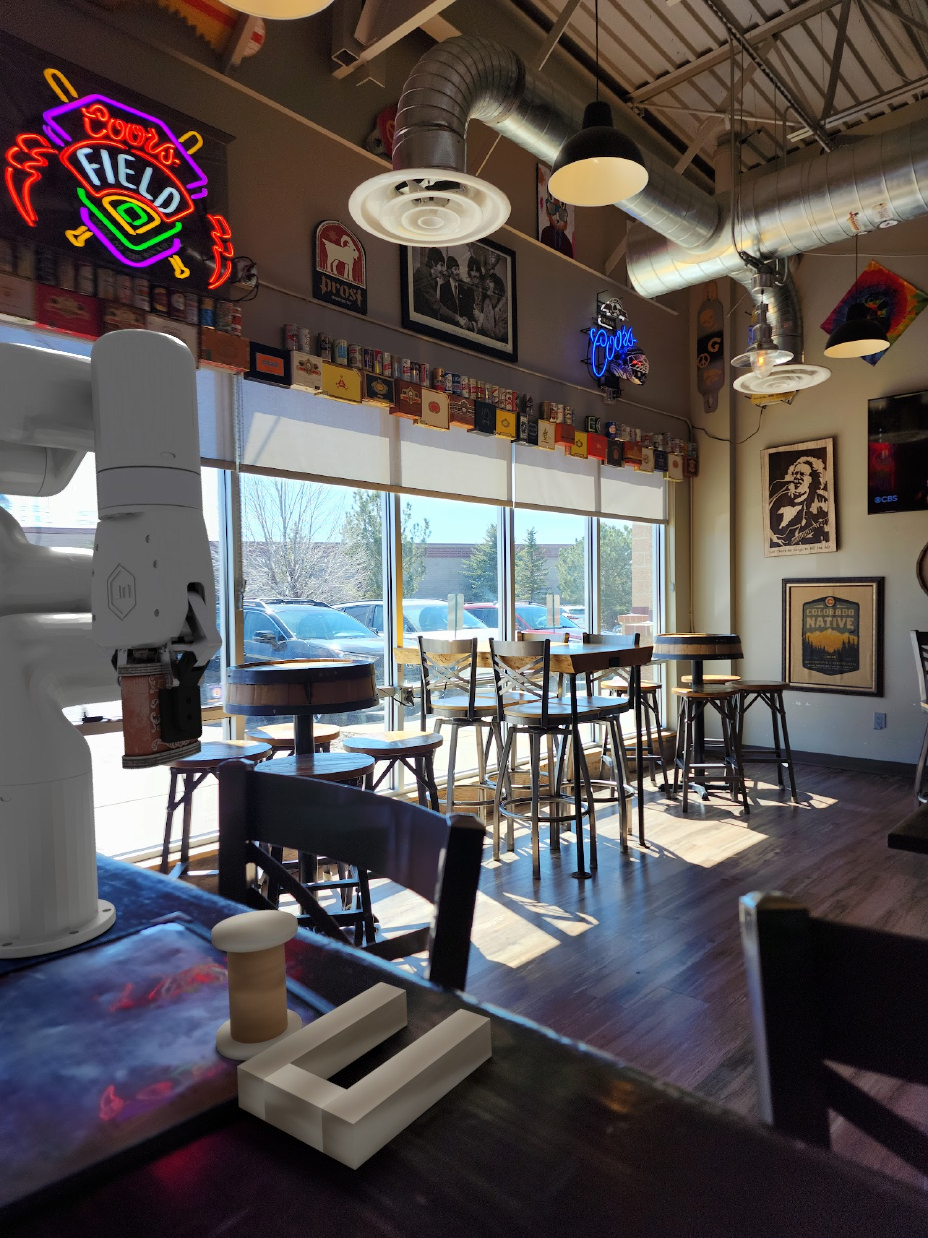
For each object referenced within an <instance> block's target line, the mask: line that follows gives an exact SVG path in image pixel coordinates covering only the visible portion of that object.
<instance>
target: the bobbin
mask: <svg viewBox="0 0 928 1238" xmlns="http://www.w3.org/2000/svg"><path fill="white" fill-rule="evenodd" d="M297 918H298V917H296V915H294V914H292V913H291V912H288V911H284V910H283V911H282V910H278V909H277V910H276V909H272V910H271V909H265V910H255V911H254V910H253V911H248V912H244V913H238V914H236V915H233V916H230V917H227V918H226V919H223V920H220V922H218V923H217V924H215V925H214V926H213V928H212V929H211V932H210V933H211V944H212V945H213V947H214V948H216V949H217V950H220V951H223V952H224V951H225V952H226V960H227V961H226V962H227V963H226V964H227V981H228V982H227V984H228V1004H229V1006H228V1009H229V1019H227V1020H226V1021H224V1023H223V1024H221V1025H220V1026H219V1028H218V1029H217V1031H216V1034H215V1045H216V1046H215V1047H216V1050H217V1052H218V1053H219V1054H220V1055H222V1057H225V1058H228V1059H230V1060H236V1061H247V1060H249V1059H251V1058H252V1057H254V1056H256V1055H257V1054H259V1053H261V1052H263V1051H264V1050H266V1049H268V1048H269V1047H271V1046H273V1045H274V1044H276V1043H278V1042H280V1041H281V1040H283V1039H285V1038H286V1037H288V1036H290V1035H291V1034H293V1033H295V1032H297V1031H298V1030H300V1029H302V1028H303V1020H302V1017H301V1016H300V1015H299V1014H298V1013H297V1012H296V1011H293V1010H292V1009H289V1008H288V999H287V998H288V997H287V973H286V953H285V951H286V950H285V949H286V948H285V943H286V942H288V941H290V940H291V939H292V938H294V937H295V935H297V933H298V932H299V931H298V930H299V928H298V927H299V926H298V919H297Z"/></svg>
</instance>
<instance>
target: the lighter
mask: <svg viewBox="0 0 928 1238" xmlns="http://www.w3.org/2000/svg"><path fill="white" fill-rule="evenodd" d="M178 642H179V640H177V641H171V644H175V643H178ZM131 649H133V654H134V656H135V659H136V662H135V663H134V664H125V665H118V676H121V684H122V700H121V708H122V707H123V720H122V730H123V729H124V737H123V746H124V747H123V749H124V754H123V755H121V765H122V769H123V770H140V769H151V768H156V767H160V766H163V765H167V764H172V763H175V762H179V761H182V760H185V759H188V758H191V757H193V756H196V755H198V754H199V753H201V752H202V740H200V739H199V738H197V739H191V740H186V741H180V742H174V743H164V742H162V740H161V728H160V708H159V689H166V687H165V685H164V681H163V675H162V669H161V663H160V657H159V652H158V647H154V648H137V647H133V646H132V647H131ZM175 657H176V663H178V661H179V660H180V658H179V654H176V655H175Z"/></svg>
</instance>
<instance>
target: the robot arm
mask: <svg viewBox="0 0 928 1238" xmlns="http://www.w3.org/2000/svg"><path fill="white" fill-rule="evenodd" d="M196 369H197V368H196V362H195V358H194V355H193V354H192V350H191V349H190V348H189V347H188V346H187V344H186V343H184V342H183V341H181V340H180V339H179V338H177V337H174V336H172V335H169V334H167V333H162V332H159V331H154V330H153V331H152V330H149V329H148V330H147V329H119V330H114V331H110V332H107V333H104V334H103V335H101V336H99V337H98V338H97V339H96V340H95V342H94V343H93V345H92V348H91V349H90V357H88V356H83V355H80V354H79V355H77V354H73V353H68V352H64V351H59V350H54V349H48V348H43V347H38V346H34V345H33V346H32V345H28V344H22V343H16V342H15V343H14V342H10V341H9V342H6V341H0V495H6V496H20V497H31V498H34V497H35V498H48V497H53V496H57V495H58V494H60V493H61V492H63V491H64V490H65V489H66V488H67V487H68V485H69V484H70V483H71V481H72V479H73V478H74V475H75V474H76V472H77V471H78V469H79V467H80V466H81V464H82V462H83V460H84V458H85V457H86V455H87V454H88V453H89V452H90V453H93V454H94V461H95V463H94V464H95V467H94V468H95V481H96V484H95V485H96V503H97V520H98V521H97V522H96V527H95V528H96V529H95V535H94V541H93V549H89V548H85V547H84V548H82V547H66V546H64V547H63V546H61V547H60V546H44V545H38V544H34V543H31V542H30V541H29V540H28V538H27V536H26V533H25V531H24V530H23V527H22V526H21V524H20V523H19V522H18V520H17V519H16V518H15V517H14V515H13V514H11V513H10V512H9V511H8V510H6V509H5V508H4V507H3V506H1V505H0V959H18V958H29V957H35V956H41V955H45V954H50V953H54V952H59V951H61V950H62V951H63V950H65V949H69V948H71V947H74V946H77V945H80V944H81V945H82V943H85V942H87V941H91V940H92V939H94V938H96V937H98V936H99V935H101V934H103V933H104V932H106V931H108V929H110V928H111V927H112V926H113V924H114V923H115V921H116V919H117V917H116V913H117V912H116V907H115V905H114V904H113V903H111V902H109V901H107V900H105V899H100V898H99V886H98V866H97V865H98V864H97V862H98V861H97V845H96V844H97V843H96V824H95V823H96V822H95V821H96V820H95V800H94V799H95V798H94V780H93V778H94V775H93V759H92V752H91V747H90V745H89V743H88V741H87V739H86V737H85V735H83V734H82V732H81V731H80V730H79V729H78V728H77V727H76V726H75V725H74V724H73V723H72V722H71V721H70V720H69V719H68V718H67V717H66V715H65V713H64V712H63V709H65V708H70V707H72V708H73V707H76V706H84V705H91V704H102V703H109V702H110V703H111V702H118V701H122V684H121V676H118V665H125V664H134V663H135V662H136V659H135V656H134V654H133V649H131V647H132V646H133V647H137V648H154V647H158V652H159V657H160V663H161V669H162V675H163V681H164V685H165V687H166V689H159V708H160V728H161V740H162V742H164V743H174V742H180V741H186V740H191V739H197V738H198V739H199V738H202V736H203V719H202V718H203V717H202V701H201V700H202V697H201V686H203V685H204V684H205V682H206V681H205V680H206V676H205V672H206V670H207V668H208V667H209V665H210V662H211V660H212V659H213V658H214V656H215V655H216V654H217V652H218V651H220V649H221V648H222V646H223V639H222V637H221V636H222V635H221V634H220V632H219V630H218V628H217V621H218V620H217V619H218V618H217V616H218V615H217V613H218V612H217V609H218V608H217V595H216V594H217V593H216V582H215V572H214V565H213V557H212V552H211V545H210V540H209V535H208V529H207V525H206V522H205V518H204V505H203V488H202V487H203V485H202V466H201V447H200V445H201V444H200V427H199V426H200V425H199V408H198V404H199V403H198V388H197V387H198V386H197V385H198V384H197V370H196ZM177 640H179V642H178V643H175V644H171V641H177ZM176 654H178V655H181V656H180V658H179V661H178V663H176V657H175V655H176ZM121 713H122V714H121V716H122V717H121V718H122V720H121V721H123V707H122V706H121ZM122 735H123V738H124V729H123V728H122Z"/></svg>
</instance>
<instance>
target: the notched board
mask: <svg viewBox="0 0 928 1238" xmlns="http://www.w3.org/2000/svg"><path fill="white" fill-rule="evenodd" d="M407 1002H408V1001H407V990H406V989H403V988H400V987H397V986H394V985H392V984H388V983H385V982H382V981H380V982H378V983H376V984H375V985H373V986H372V987H370V988H369V989H366V990H365V991H363V992H361V993H360V994H358V995H356V996H354V997H353V998H351V999H349V1000H348V1001H346V1002H345V1003H343V1004H341V1005H339V1006H338V1007H336V1008H334V1009H332V1010H330V1011H329V1012H327V1013H326V1014H324V1015H322V1016H321V1017H319V1018H317V1019H315V1020H314V1021H312V1022H310V1023H308V1024H307V1025H306V1026H302V1029H300V1030H298V1031H297V1032H295V1033H293V1034H291V1035H290V1036H288V1037H286V1038H285V1039H283V1040H281V1041H280V1042H278V1043H276V1044H274V1045H273V1046H271V1047H269V1048H268V1049H266V1050H264V1051H263V1052H261V1053H259V1054H257V1055H256V1056H254V1057H252V1058H251V1059H249V1060H245V1061H244V1062H242V1063H240V1064H239V1065H237V1066H236V1068H237V1069H236V1070H237V1072H236V1073H237V1091H238V1092H237V1094H238V1107H239V1108H240V1109H242V1110H244V1111H246V1112H247V1113H249V1114H251V1115H253V1116H256V1117H257V1118H259V1119H261V1120H263V1121H264V1122H266V1123H268V1124H270V1125H272V1126H274V1127H275V1128H277V1129H279V1130H281V1131H283V1132H285V1133H286V1134H289V1135H291V1136H292V1137H294V1138H296V1139H297V1140H299V1141H301V1142H304V1143H305V1144H307V1145H309V1146H310V1147H312V1148H314V1149H316V1150H318V1151H319V1152H322V1153H323V1154H325V1155H327V1156H329V1157H331V1158H332V1159H334V1160H336V1161H338V1162H340V1163H342V1164H343V1165H345V1166H347V1167H349V1168H351V1169H353V1170H354V1171H355V1170H357V1169H358V1168H359V1167H361V1166H362V1165H363V1164H364V1163H365V1162H366V1161H368V1160H369V1159H370V1158H371V1157H373V1155H375V1154H376V1153H377V1152H378V1151H380V1150H381V1149H382V1148H384V1146H386V1145H387V1144H388V1143H389V1142H390V1141H392V1140H393V1139H394V1138H395V1137H396V1136H397V1135H399V1134H400V1133H401V1132H403V1130H404V1129H406V1128H407V1127H408V1126H409V1125H411V1124H412V1123H413V1122H415V1120H417V1118H419V1117H420V1116H421V1115H423V1114H424V1113H425V1112H426V1111H427V1110H428V1109H430V1108H431V1107H432V1106H433V1105H435V1103H437V1102H438V1101H440V1100H441V1099H442V1098H443V1097H444V1096H445V1095H447V1094H448V1093H449V1092H450V1091H451V1090H452V1089H454V1088H455V1087H456V1086H458V1084H459V1083H461V1082H462V1081H463V1080H464V1079H465V1078H467V1077H468V1076H469V1075H470V1074H471V1073H473V1072H474V1071H476V1069H477V1068H479V1067H480V1066H481V1065H482V1064H483V1063H484V1062H486V1061H487V1060H488V1059H490V1058H491V1057H492V1056H493V1055H492V1053H493V1052H492V1051H493V1050H492V1032H491V1029H492V1028H491V1018H489V1017H486V1016H483V1015H480V1014H477V1013H475V1012H472V1011H469V1010H466V1009H462V1008H460V1009H458V1010H457V1011H455V1012H453V1014H451V1015H450V1016H448V1017H447V1018H446V1019H444V1020H443V1021H441V1022H440V1023H438V1024H437V1025H436V1026H434V1027H432V1028H431V1029H430V1030H428V1031H427V1032H426V1033H424V1034H423V1035H422V1036H419V1038H418V1039H416V1040H414V1041H413V1042H411V1044H409V1045H408V1046H406V1047H405V1048H403V1049H402V1050H401V1051H399V1052H398V1053H397V1054H395V1055H394V1056H392V1057H390V1058H389V1059H388V1060H387V1061H385V1062H384V1063H382V1064H381V1065H380V1066H378V1067H377V1068H375V1069H374V1070H372V1071H371V1072H370V1073H368V1074H367V1075H366V1076H364V1077H362V1078H361V1079H360V1080H359V1081H357V1082H356V1083H354V1084H353V1085H351V1086H350V1087H349V1088H347V1089H346V1088H344V1087H341V1086H339V1085H337V1084H335V1083H334V1082H333V1083H332V1082H330V1081H329V1080H328V1079H329V1078H331V1077H332V1076H334V1075H335V1074H336V1073H338V1072H340V1071H341V1070H342V1069H344V1068H346V1067H347V1066H349V1065H350V1064H351V1063H354V1061H356V1060H357V1059H359V1058H361V1056H363V1055H365V1054H366V1053H367V1052H369V1051H371V1050H372V1049H373V1048H375V1047H376V1046H378V1045H380V1044H381V1043H383V1042H384V1041H385V1040H387V1039H388V1038H390V1037H391V1036H393V1035H394V1034H396V1033H397V1032H398V1031H400V1030H401V1029H403V1028H404V1027H406V1026H407V1025H408V1008H407V1007H408V1005H407V1004H408V1003H407Z"/></svg>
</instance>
